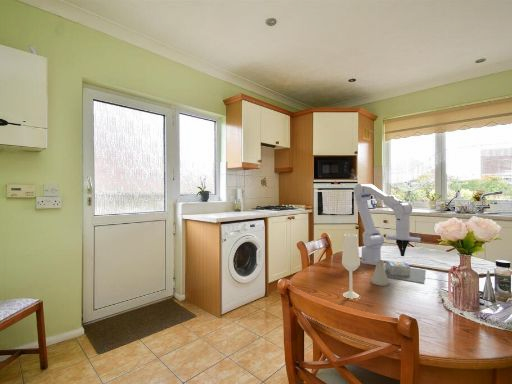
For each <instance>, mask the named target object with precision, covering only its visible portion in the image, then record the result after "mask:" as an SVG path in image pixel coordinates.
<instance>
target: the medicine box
mask: <svg viewBox="0 0 512 384" xmlns="http://www.w3.org/2000/svg"><path fill="white" fill-rule="evenodd" d="M385 264H386V270H387V271H388V272H389V273H390V274H391V275H404V276H410V268H411V266H410V265H409V264H408V263H406V262H405V261H394V260H393V261H392V260H391V261H390V260H387V261H385Z"/></svg>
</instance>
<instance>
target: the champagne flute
mask: <svg viewBox="0 0 512 384" xmlns="http://www.w3.org/2000/svg"><path fill="white" fill-rule="evenodd" d="M358 239H359V238H358V234H354V233H344V235H343V244H342V245H343V246H342V255H341V256H342V257H341V264H342V266H343V268H345V269H346V270H347V271H348V272H349V273H348V276H349V279H348V280H349V286H348V287H349V289H348V291H346V292H343V293H342V294H343V296H344V297H346V298H345V299H347V298H351V299H353V298H358V297H359V296H360V294H358V293H357V292H355V291H354V290H353V287H354V286H353V283H354V282H353V281H354V280H353V272H354V271H356V270H357V269H359V267H360V265H361V259H360V251H359V250H360V249H359V240H358ZM343 296H342V297H343ZM344 297H343V298H344ZM351 299H350V300H351Z"/></svg>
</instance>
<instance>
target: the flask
mask: <svg viewBox="0 0 512 384" xmlns="http://www.w3.org/2000/svg"><path fill="white" fill-rule="evenodd" d="M375 261H376V265H375V269H374V272H373V274H372V277H371V279H370V282H371V284H373V285H376V286H381V287H383V286H384V287H385V286H388V285H390V282H389V281H390V280H389V278H387V276H386V273H385V271H384V262H385V260H382V259H381V260H375Z"/></svg>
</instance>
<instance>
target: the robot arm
mask: <svg viewBox="0 0 512 384" xmlns="http://www.w3.org/2000/svg"><path fill="white" fill-rule="evenodd" d="M353 188H354V189H353V190H352V191H353V195H354V197H355V198H354V199H355V203H356V206H357V210H358V212H359V216H360V218H361V222H362V226H363V229H364V232H363V233H362V243H363V244H364V245H363V246H362V248H361V261H360V264H366V265H371V266H372V265H373V266H376V261H375V260H382V258H381V257H382V255H381V252H382V247H383V244H384V243H385V242H384V241H385V240H387V241H388V240H391V241H395V244H396V246H397V247H398V249H399V254H400V257H405V253H406V249H407V247H408V246H409V243H410V242H411V243H421V237H415V236H410V215H411V213H412V212H413V206H412V205H411V204H410V203H409V202H403V200H401V199H398V198H397V197H395V195H394V194H386V193H385V192H383V191H382V190H380V189H379V188H377V186H376V185H374V184H372V183H362V184H361V183H356V184H355V186H354V187H353ZM372 196H373V197H376V198H377V199H379V200H381V201H382V203H383V205H384V206H386V207H388V208H389V209H391V210H392V211H393V212H392V213H394V215H395V216H394V218H395V235H392V234H386V235H385V239H384V236H383V235H382V234H381V232H380V230H379V229H377V228H376V226H375V223H374V220H373V217H372V214H371V211H370V208H369V206H368V203H367V202H368V200H369V199H370V197H372Z"/></svg>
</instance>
